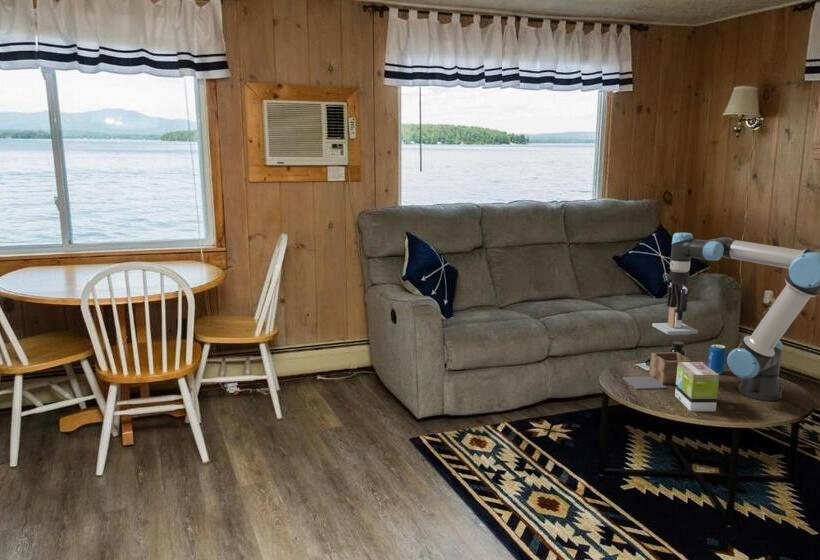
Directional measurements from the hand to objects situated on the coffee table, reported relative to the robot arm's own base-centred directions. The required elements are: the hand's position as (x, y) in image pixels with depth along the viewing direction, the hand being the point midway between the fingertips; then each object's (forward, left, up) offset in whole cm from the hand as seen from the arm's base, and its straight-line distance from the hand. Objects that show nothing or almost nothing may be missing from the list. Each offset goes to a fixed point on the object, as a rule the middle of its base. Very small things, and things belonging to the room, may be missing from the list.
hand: (674, 325), depth 268 cm
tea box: (-27, +4, -24) cm, 36 cm away
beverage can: (+7, -25, -24) cm, 35 cm away
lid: (0, 0, -2) cm, 2 cm away
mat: (-4, +13, -24) cm, 27 cm away
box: (0, 0, -24) cm, 24 cm away
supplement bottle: (+13, -10, -24) cm, 29 cm away
